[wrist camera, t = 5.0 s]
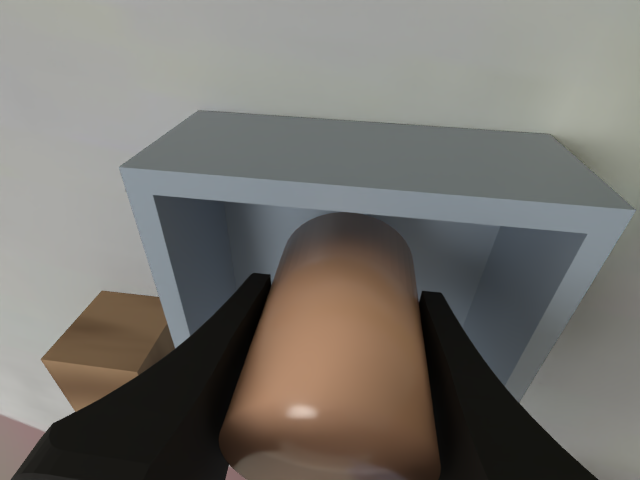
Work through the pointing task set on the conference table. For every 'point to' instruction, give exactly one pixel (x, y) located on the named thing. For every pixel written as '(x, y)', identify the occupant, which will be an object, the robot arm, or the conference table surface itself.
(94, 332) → the walnut cube
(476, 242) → the box
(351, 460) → the terracotta cylinder
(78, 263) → the conference table surface
